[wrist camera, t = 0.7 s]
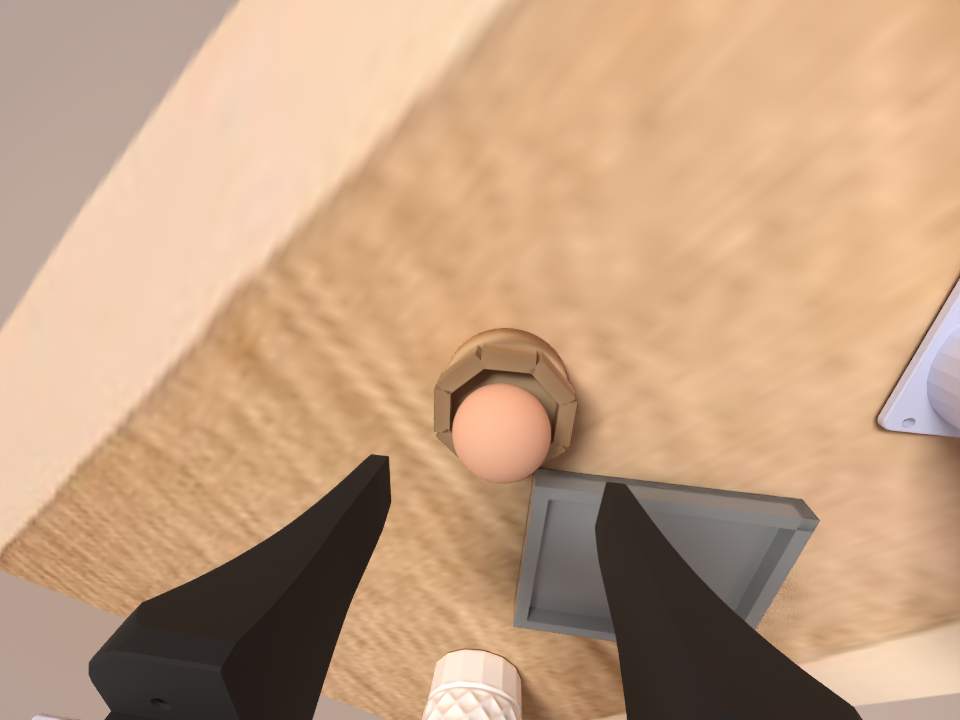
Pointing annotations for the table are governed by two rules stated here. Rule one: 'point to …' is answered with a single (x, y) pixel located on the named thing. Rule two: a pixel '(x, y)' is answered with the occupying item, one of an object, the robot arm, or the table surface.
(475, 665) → the white cup
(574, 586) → the tray
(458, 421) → the ball
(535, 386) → the egg cup
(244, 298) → the table surface
